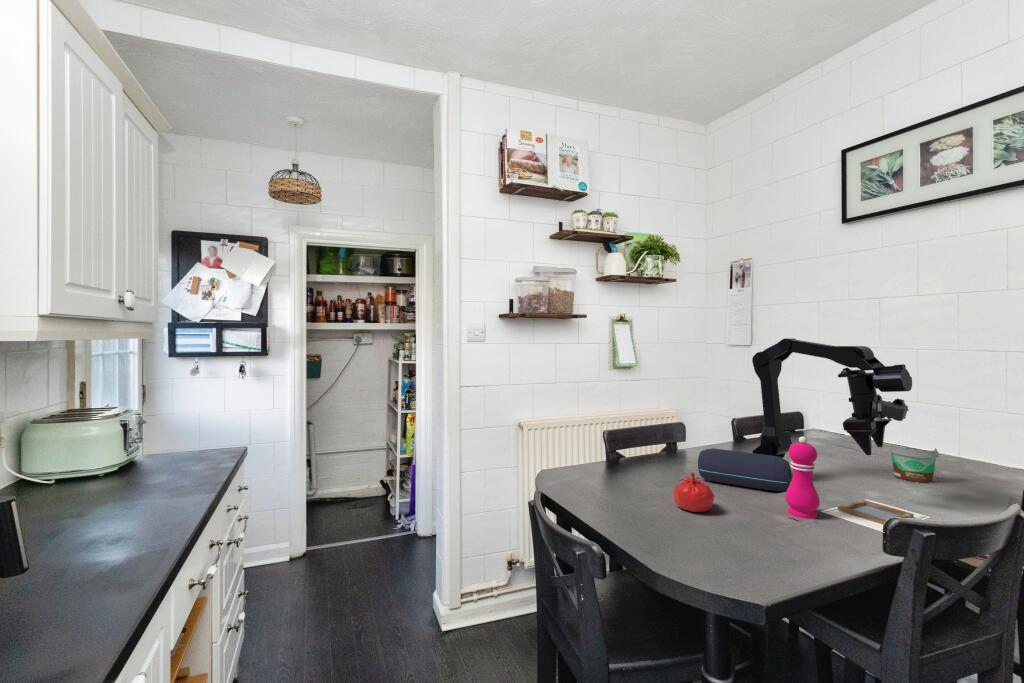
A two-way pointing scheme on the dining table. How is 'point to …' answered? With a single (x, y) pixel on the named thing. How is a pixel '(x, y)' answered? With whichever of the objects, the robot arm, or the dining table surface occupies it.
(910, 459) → the food container
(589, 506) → the dining table surface
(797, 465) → the pepper mill
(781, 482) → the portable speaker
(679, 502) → the pomegranate
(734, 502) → the dining table surface
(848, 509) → the walnut socket
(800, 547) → the dining table surface
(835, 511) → the picture frame
